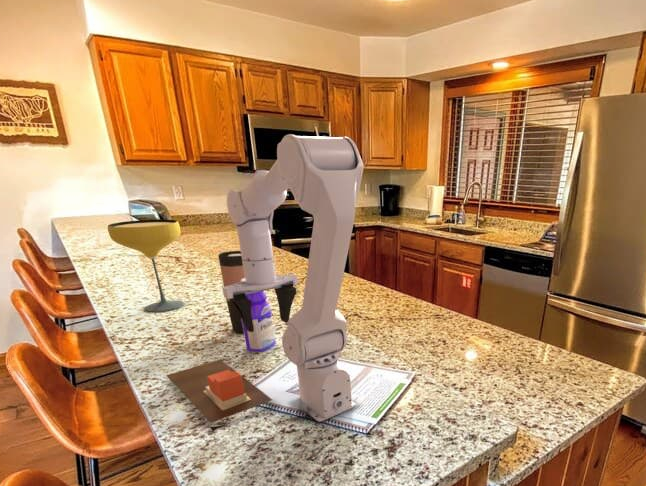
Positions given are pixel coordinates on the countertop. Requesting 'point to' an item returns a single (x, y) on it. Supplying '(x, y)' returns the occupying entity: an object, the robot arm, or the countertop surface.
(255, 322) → the bottle
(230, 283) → the travel mug
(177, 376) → the flat brown mat
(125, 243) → the cocktail glass
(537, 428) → the countertop surface
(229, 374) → the orange cube on base
